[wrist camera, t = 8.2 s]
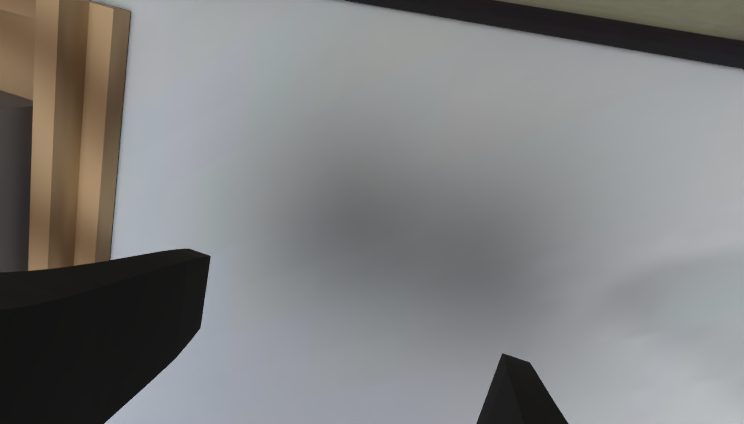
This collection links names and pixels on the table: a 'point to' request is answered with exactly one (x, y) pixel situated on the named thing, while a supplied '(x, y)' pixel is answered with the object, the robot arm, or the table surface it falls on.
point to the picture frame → (610, 22)
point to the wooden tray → (68, 120)
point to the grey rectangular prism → (15, 180)
